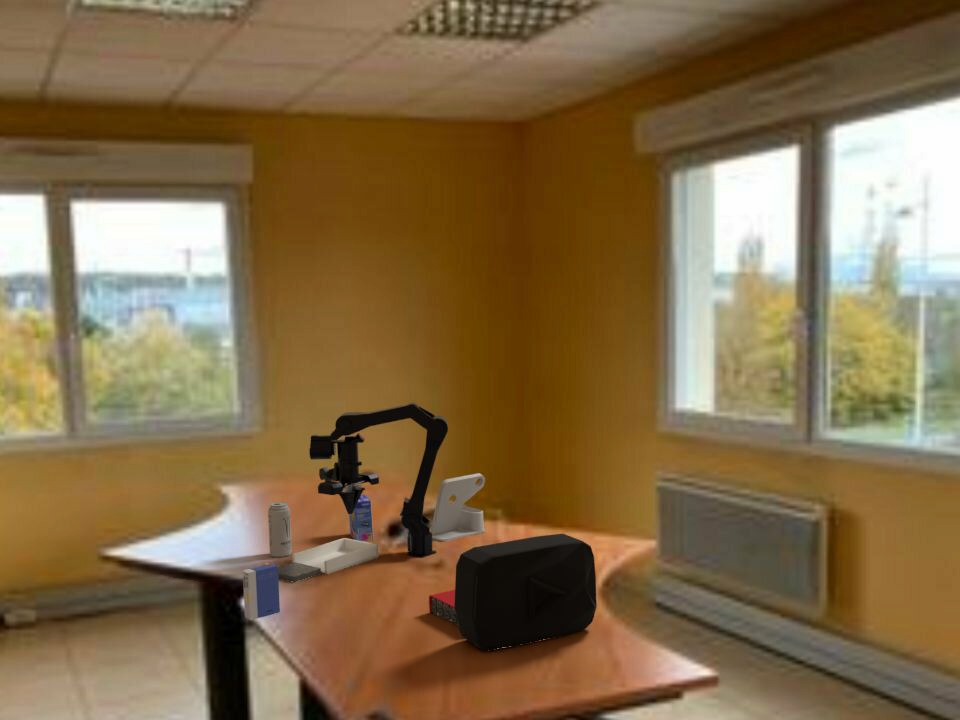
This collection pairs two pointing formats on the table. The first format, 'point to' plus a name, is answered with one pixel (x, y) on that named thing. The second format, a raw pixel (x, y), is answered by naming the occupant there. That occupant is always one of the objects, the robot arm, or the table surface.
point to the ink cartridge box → (362, 520)
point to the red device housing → (444, 605)
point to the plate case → (337, 555)
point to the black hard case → (525, 590)
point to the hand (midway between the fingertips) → (350, 513)
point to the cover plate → (297, 571)
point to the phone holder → (457, 509)
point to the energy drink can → (279, 529)
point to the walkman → (261, 591)
